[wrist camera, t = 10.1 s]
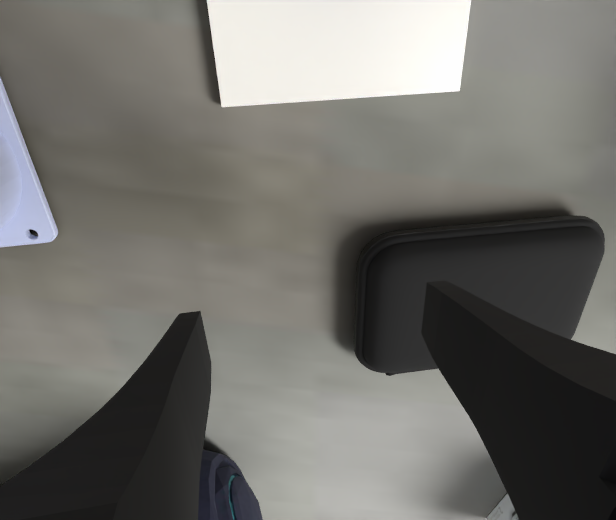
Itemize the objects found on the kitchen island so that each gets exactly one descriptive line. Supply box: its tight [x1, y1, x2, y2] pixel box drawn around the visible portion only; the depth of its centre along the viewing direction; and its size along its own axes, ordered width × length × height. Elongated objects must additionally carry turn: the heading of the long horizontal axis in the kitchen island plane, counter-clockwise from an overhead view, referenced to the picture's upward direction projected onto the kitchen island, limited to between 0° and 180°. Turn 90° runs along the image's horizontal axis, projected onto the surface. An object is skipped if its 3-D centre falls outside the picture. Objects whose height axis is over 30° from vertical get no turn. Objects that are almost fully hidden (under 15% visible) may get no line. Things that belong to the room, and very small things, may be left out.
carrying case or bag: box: [354, 216, 605, 376], centre depth 24 cm, size 11×3×15 cm
